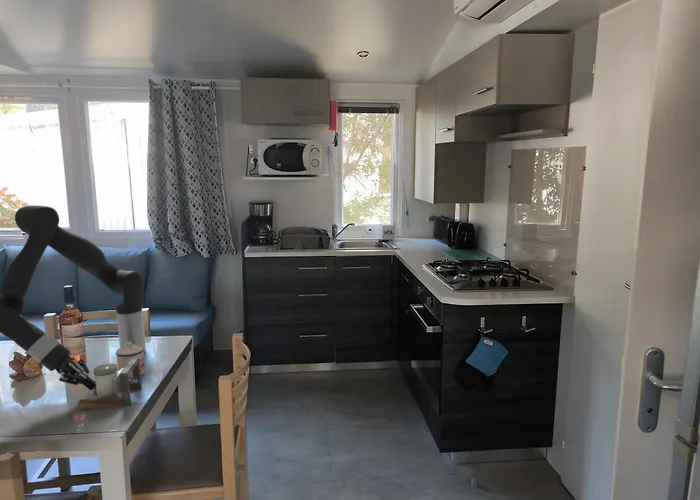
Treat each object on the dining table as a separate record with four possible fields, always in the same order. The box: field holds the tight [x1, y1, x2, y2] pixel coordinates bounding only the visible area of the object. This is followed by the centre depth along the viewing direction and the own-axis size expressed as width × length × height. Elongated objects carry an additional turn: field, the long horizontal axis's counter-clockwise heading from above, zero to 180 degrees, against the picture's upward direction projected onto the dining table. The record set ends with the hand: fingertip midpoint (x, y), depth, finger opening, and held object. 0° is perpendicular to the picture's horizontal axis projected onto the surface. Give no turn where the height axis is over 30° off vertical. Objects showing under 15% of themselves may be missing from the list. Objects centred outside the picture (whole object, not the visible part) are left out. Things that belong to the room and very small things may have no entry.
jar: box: [93, 363, 118, 398], centre depth 154 cm, size 7×7×10 cm
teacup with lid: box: [115, 342, 146, 380], centre depth 173 cm, size 12×9×12 cm
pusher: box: [112, 368, 137, 397], centre depth 155 cm, size 9×6×8 cm, turn 7°
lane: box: [78, 357, 143, 410], centre depth 154 cm, size 13×14×10 cm
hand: (94, 387), depth 153 cm, fingers closed
